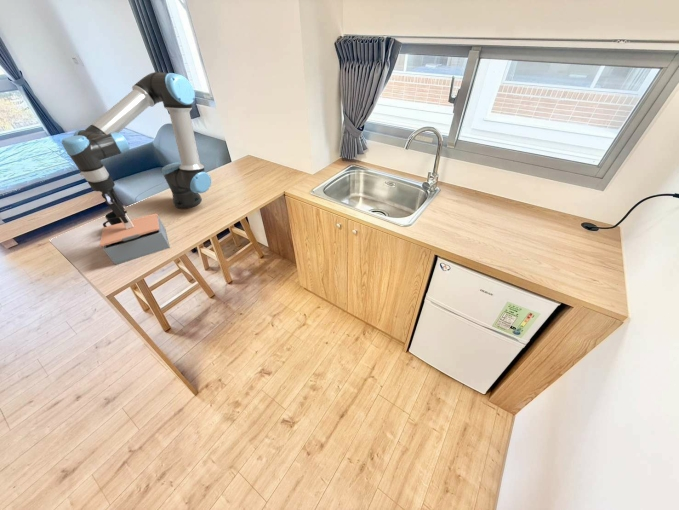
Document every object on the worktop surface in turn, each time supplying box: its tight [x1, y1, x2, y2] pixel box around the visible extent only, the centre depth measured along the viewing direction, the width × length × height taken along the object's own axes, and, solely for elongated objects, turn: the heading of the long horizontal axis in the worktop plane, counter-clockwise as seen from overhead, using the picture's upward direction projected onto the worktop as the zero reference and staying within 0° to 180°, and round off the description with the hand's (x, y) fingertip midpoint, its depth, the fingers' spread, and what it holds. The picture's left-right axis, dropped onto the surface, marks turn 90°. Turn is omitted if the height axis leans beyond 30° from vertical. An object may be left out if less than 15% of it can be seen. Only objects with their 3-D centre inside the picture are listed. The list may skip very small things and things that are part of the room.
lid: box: [99, 212, 160, 248], centre depth 120 cm, size 19×22×1 cm
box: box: [103, 216, 171, 266], centre depth 124 cm, size 18×22×9 cm
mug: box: [102, 210, 127, 228], centre depth 133 cm, size 8×12×10 cm
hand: (130, 227), depth 120 cm, fingers closed
